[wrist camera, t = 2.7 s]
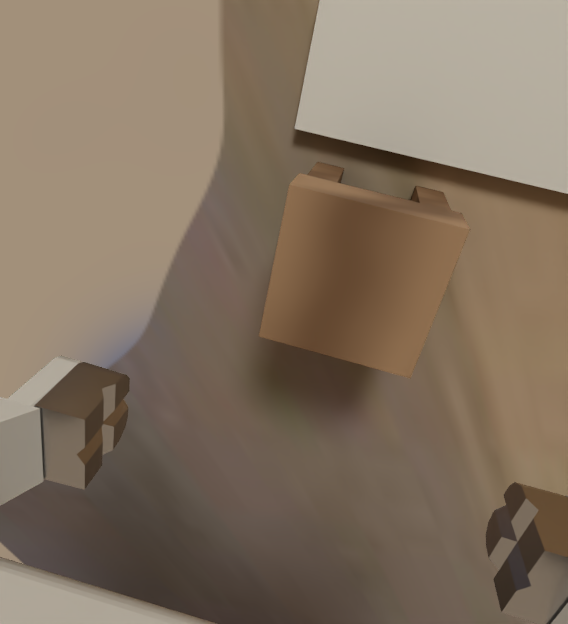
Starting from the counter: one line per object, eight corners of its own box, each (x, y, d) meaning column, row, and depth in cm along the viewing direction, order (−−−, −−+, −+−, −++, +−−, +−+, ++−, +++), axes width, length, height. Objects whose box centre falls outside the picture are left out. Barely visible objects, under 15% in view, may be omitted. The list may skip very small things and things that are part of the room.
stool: (449, 188, 21) (470, 229, 15) (405, 309, 23) (410, 378, 18) (314, 156, 21) (289, 184, 16) (287, 278, 24) (258, 336, 19)
